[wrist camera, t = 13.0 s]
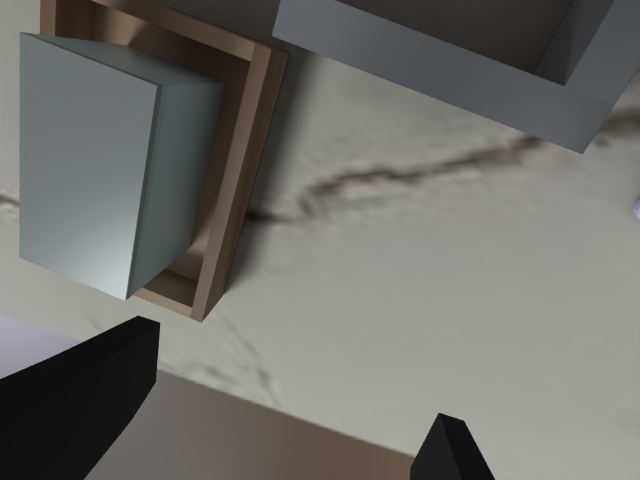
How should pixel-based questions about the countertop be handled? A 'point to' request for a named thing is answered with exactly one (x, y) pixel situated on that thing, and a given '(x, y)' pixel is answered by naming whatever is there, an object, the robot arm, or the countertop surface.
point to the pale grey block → (110, 159)
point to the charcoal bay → (488, 64)
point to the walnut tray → (230, 135)
